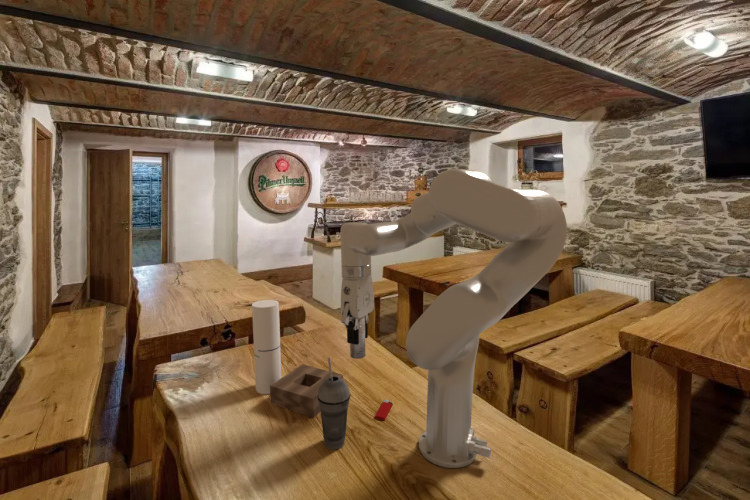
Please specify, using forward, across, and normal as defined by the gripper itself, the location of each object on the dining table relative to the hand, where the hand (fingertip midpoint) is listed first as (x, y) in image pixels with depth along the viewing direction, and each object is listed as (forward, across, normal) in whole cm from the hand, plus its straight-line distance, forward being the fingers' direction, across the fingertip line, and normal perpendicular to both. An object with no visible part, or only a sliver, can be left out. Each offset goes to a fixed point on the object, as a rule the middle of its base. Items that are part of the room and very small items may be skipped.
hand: (357, 339), depth 99 cm
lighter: (+19, 0, -7) cm, 20 cm away
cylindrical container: (+17, -5, +27) cm, 32 cm away
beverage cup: (+18, -17, -3) cm, 25 cm away
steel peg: (+4, 0, 0) cm, 4 cm away
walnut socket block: (+17, -4, +14) cm, 23 cm away
